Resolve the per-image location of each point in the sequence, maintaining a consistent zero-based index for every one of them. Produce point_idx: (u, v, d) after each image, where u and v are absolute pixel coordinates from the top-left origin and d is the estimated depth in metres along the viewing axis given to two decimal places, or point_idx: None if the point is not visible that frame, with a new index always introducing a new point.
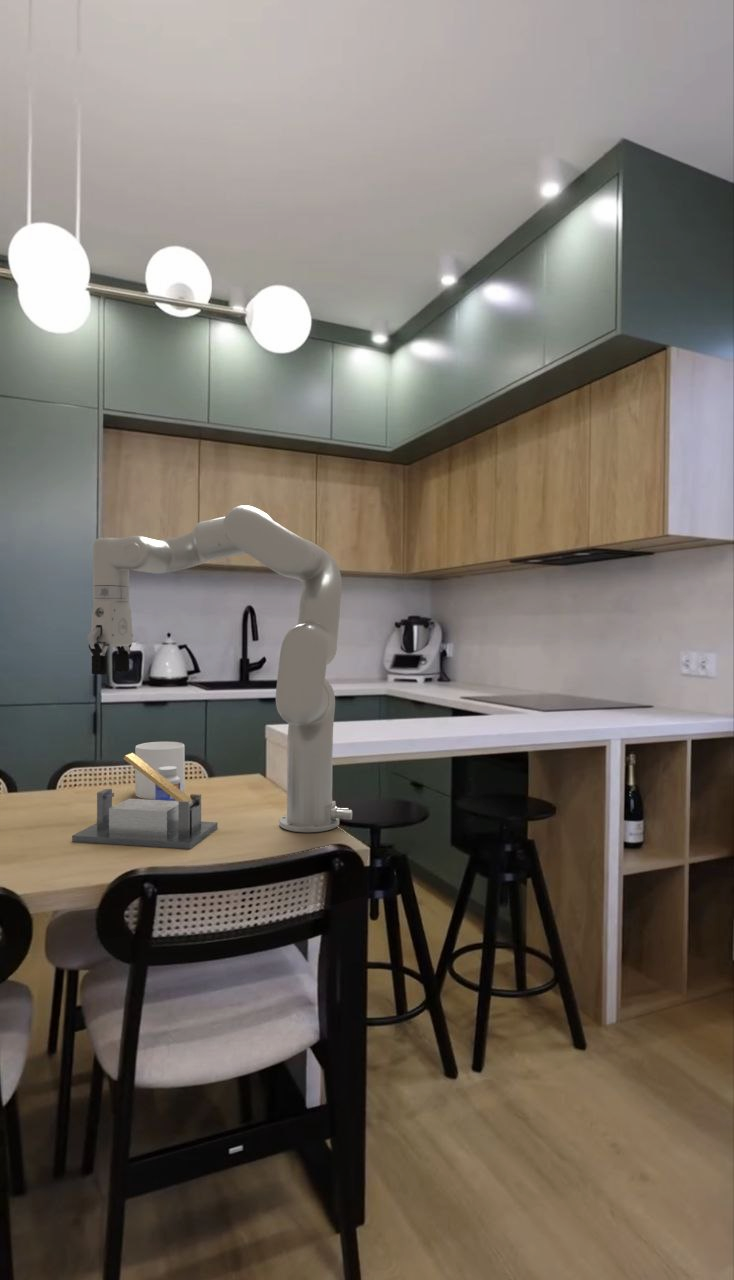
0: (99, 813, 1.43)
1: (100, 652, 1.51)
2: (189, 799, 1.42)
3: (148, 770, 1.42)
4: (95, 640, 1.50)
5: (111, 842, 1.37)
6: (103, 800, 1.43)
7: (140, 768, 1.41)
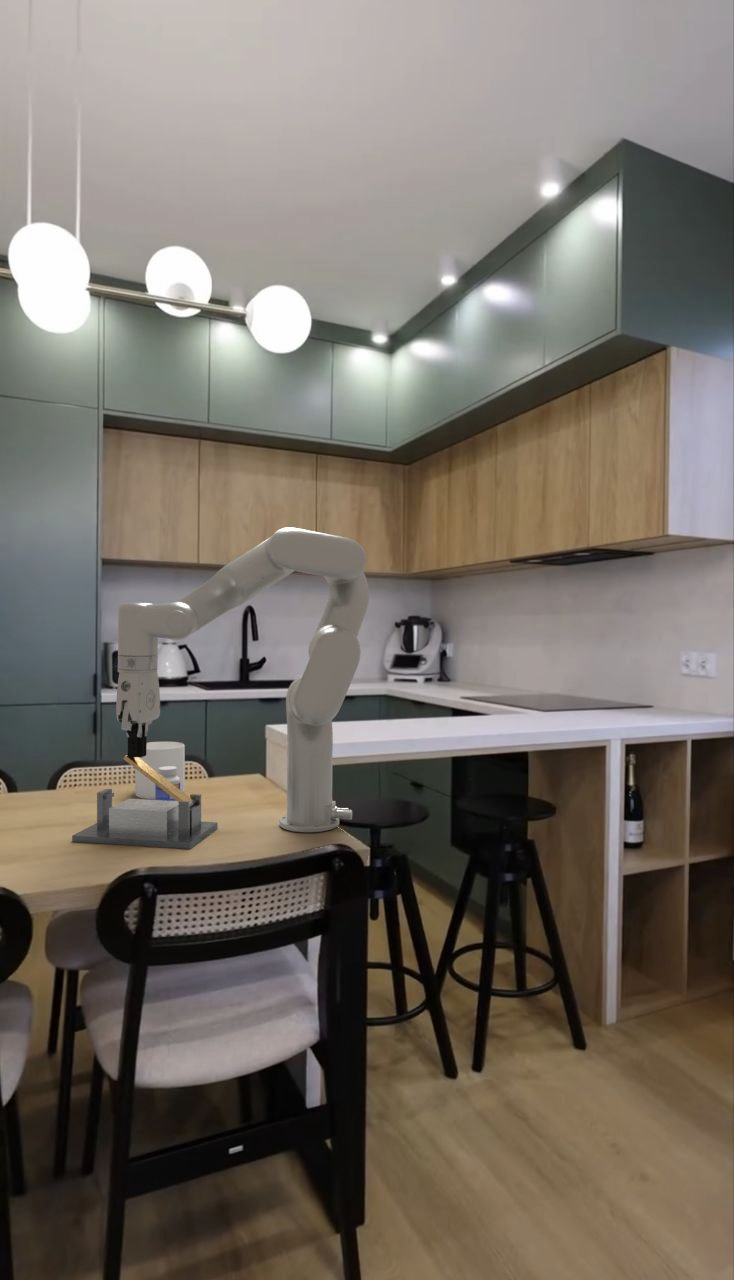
0: (99, 813, 1.43)
1: (137, 736, 1.41)
2: (189, 799, 1.42)
3: (148, 770, 1.42)
4: (130, 727, 1.39)
5: (111, 842, 1.37)
6: (103, 800, 1.43)
7: (140, 768, 1.41)
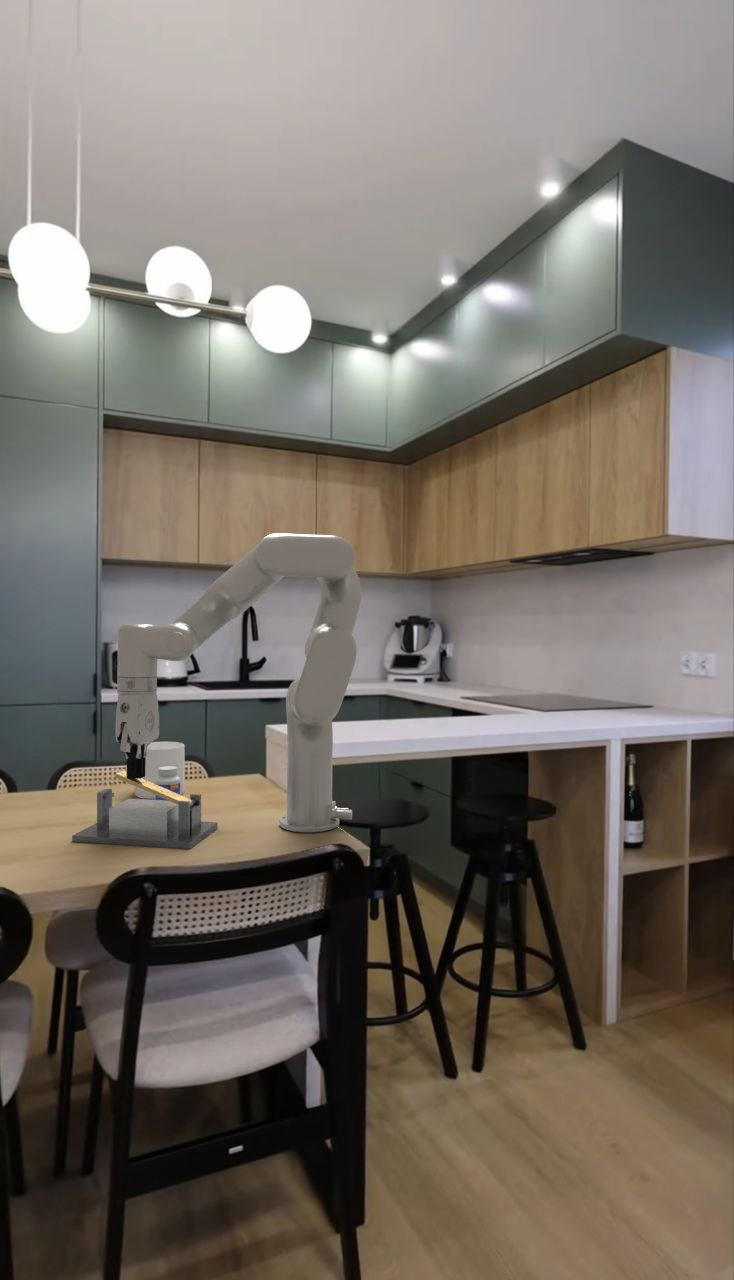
0: (99, 813, 1.43)
1: (136, 758, 1.41)
2: (188, 800, 1.42)
3: (141, 782, 1.43)
4: (129, 748, 1.39)
5: (111, 842, 1.37)
6: (103, 800, 1.43)
7: (133, 782, 1.42)
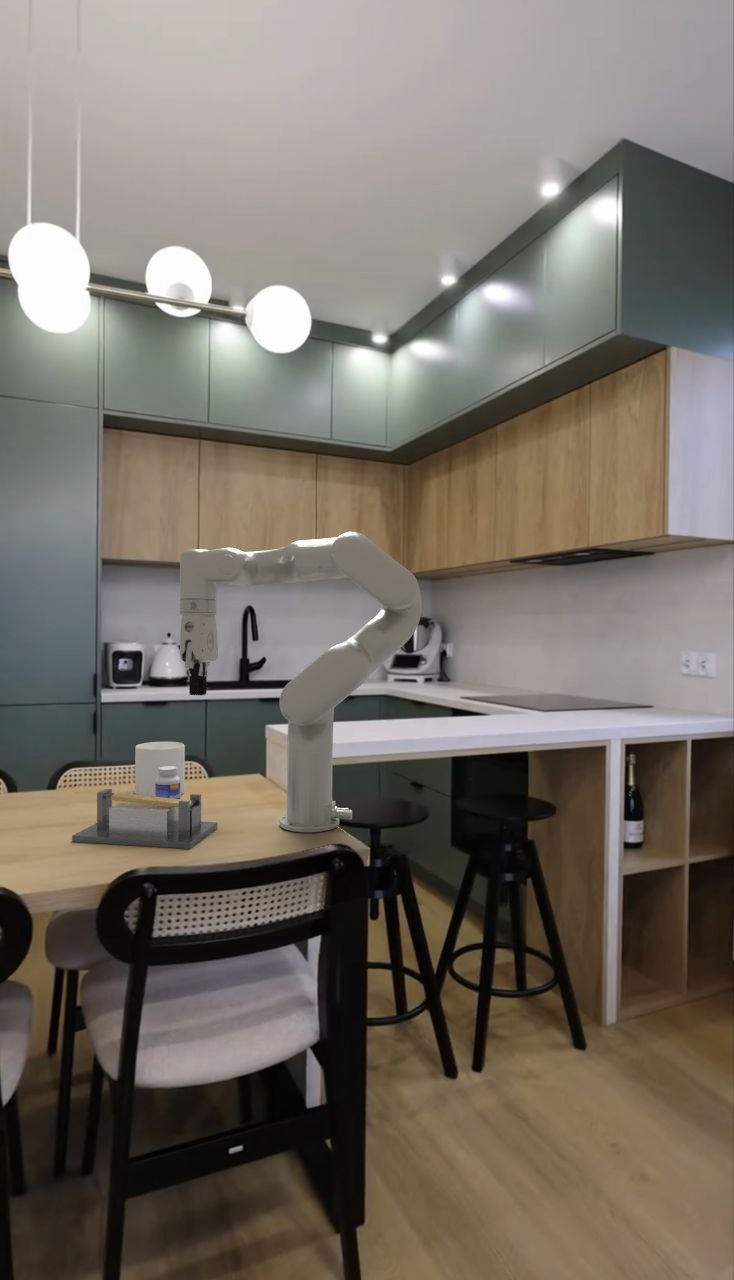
0: (99, 813, 1.43)
1: (199, 675, 1.50)
2: None
3: (138, 797, 1.43)
4: (193, 665, 1.48)
5: (111, 842, 1.37)
6: (103, 800, 1.43)
7: (129, 799, 1.42)
